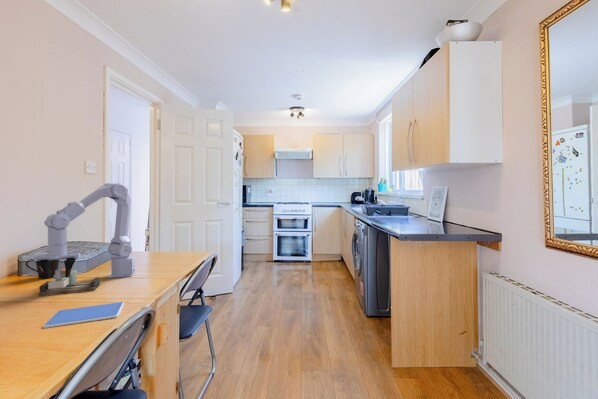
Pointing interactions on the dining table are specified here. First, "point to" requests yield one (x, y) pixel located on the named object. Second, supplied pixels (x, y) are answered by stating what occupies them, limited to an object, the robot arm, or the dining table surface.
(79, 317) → the tablet computer
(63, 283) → the carriage
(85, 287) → the dark gray tray
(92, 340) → the dining table surface
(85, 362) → the dining table surface
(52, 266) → the coffee mug
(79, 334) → the dining table surface
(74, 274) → the gauge cabinet
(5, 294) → the dining table surface
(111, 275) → the robot arm
